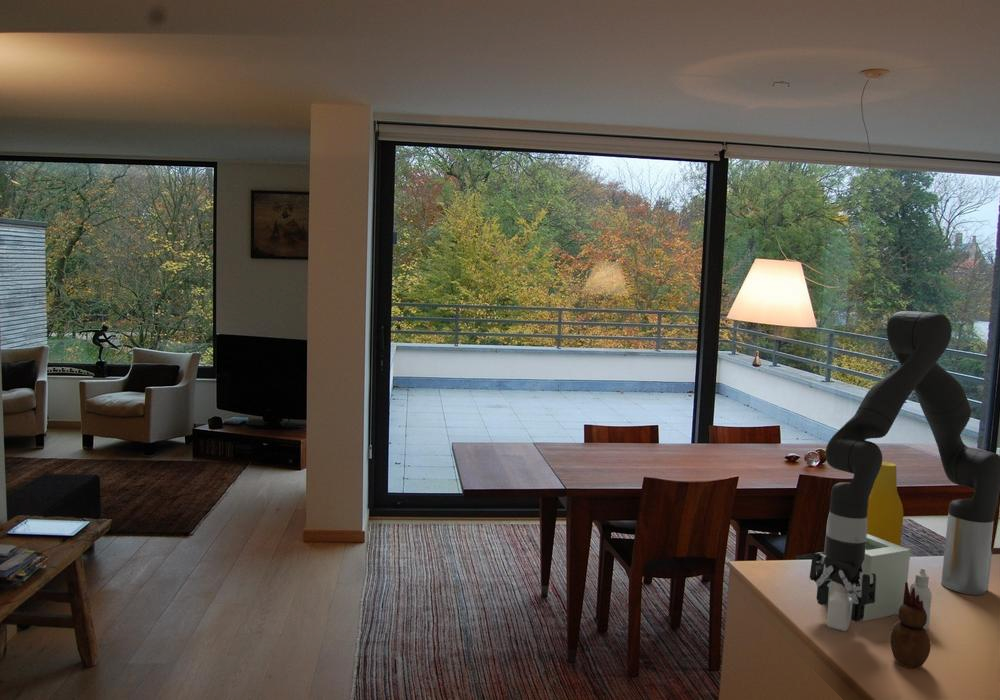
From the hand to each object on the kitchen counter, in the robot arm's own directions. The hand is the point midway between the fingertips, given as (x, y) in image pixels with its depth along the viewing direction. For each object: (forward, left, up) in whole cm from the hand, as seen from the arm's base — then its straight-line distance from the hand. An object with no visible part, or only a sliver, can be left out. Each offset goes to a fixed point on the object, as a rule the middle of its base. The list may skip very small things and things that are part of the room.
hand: (838, 612), depth 163 cm
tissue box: (-14, -6, -3) cm, 16 cm away
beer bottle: (-28, -14, -3) cm, 32 cm away
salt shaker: (0, 0, -3) cm, 3 cm away
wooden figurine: (0, +16, -3) cm, 17 cm away
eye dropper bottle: (-18, +5, -3) cm, 19 cm away
